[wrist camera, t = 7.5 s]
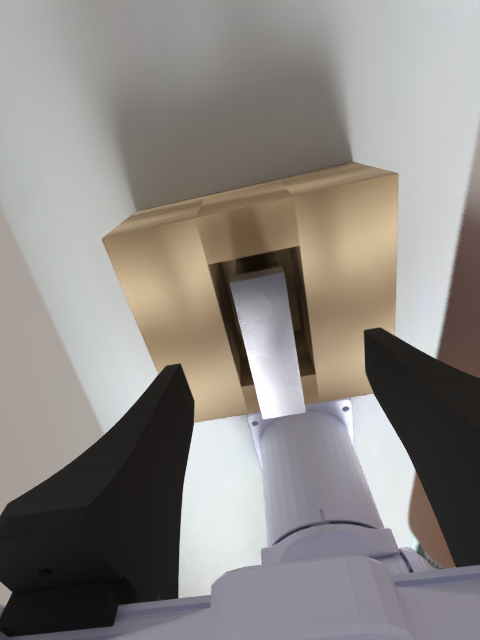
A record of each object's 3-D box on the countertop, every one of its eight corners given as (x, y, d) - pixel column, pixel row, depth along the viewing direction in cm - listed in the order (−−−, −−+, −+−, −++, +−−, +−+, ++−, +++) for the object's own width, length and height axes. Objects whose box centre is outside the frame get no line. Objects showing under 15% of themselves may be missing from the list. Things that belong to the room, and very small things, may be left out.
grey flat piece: (285, 332, 21) (306, 412, 15) (255, 338, 22) (263, 419, 15) (267, 224, 18) (284, 272, 12) (231, 232, 18) (229, 283, 12)
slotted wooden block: (360, 335, 23) (393, 390, 18) (191, 366, 24) (179, 424, 19) (353, 161, 17) (398, 173, 13) (136, 211, 19) (101, 239, 14)
